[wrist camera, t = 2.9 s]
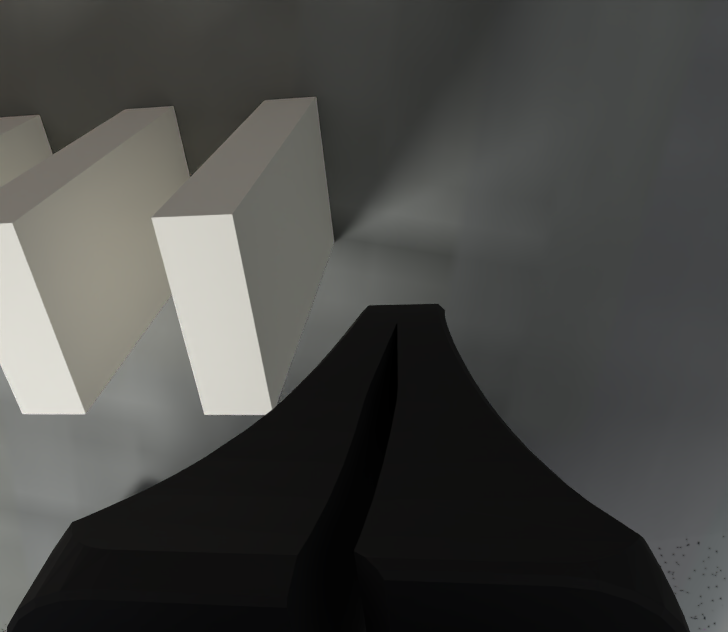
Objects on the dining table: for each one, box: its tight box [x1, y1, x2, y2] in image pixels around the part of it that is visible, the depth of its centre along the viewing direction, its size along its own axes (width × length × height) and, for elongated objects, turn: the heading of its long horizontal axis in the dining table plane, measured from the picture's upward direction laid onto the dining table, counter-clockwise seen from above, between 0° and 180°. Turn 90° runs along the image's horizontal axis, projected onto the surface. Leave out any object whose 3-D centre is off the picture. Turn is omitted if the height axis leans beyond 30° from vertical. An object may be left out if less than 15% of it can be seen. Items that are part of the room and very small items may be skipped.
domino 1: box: [0, 106, 190, 414], centre depth 18 cm, size 2×5×9 cm, turn 5°
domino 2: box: [151, 97, 334, 415], centre depth 18 cm, size 2×5×9 cm, turn 5°
